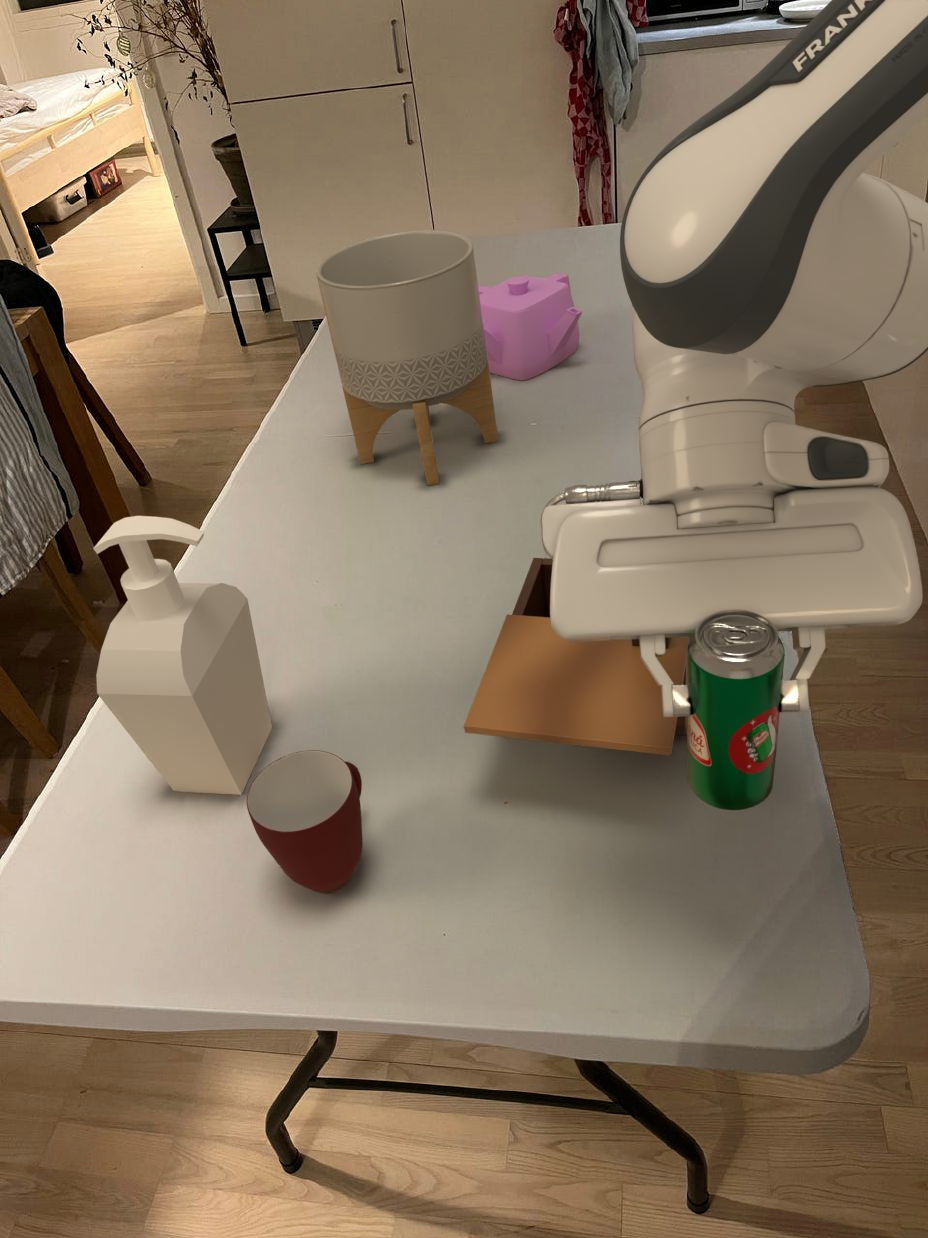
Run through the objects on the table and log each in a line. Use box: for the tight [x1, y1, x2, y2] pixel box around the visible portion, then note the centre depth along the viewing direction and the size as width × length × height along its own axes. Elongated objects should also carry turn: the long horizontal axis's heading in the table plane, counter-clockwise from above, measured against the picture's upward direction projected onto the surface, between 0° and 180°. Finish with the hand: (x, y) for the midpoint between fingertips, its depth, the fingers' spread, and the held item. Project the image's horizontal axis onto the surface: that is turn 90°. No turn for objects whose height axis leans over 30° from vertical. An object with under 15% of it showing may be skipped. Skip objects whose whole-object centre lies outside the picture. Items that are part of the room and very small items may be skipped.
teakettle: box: [478, 272, 583, 382], centre depth 145 cm, size 17×17×12 cm
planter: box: [315, 229, 499, 487], centre depth 122 cm, size 19×19×26 cm
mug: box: [246, 749, 363, 894], centre depth 75 cm, size 11×8×10 cm
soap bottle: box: [92, 515, 273, 796], centre depth 81 cm, size 12×10×26 cm
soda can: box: [686, 610, 786, 812], centre depth 55 cm, size 5×5×12 cm
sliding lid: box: [463, 614, 690, 756], centre depth 77 cm, size 16×14×6 cm
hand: (735, 714), depth 54 cm, fingers closed on soda can, 5 cm apart
